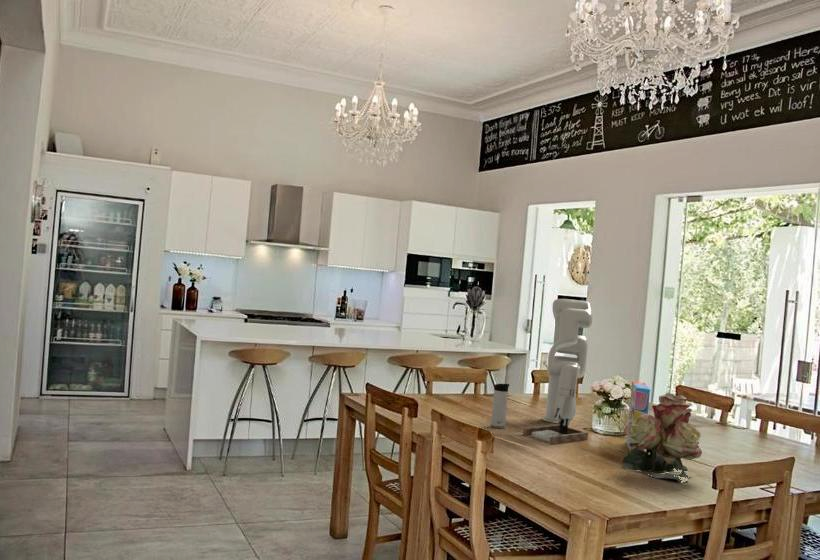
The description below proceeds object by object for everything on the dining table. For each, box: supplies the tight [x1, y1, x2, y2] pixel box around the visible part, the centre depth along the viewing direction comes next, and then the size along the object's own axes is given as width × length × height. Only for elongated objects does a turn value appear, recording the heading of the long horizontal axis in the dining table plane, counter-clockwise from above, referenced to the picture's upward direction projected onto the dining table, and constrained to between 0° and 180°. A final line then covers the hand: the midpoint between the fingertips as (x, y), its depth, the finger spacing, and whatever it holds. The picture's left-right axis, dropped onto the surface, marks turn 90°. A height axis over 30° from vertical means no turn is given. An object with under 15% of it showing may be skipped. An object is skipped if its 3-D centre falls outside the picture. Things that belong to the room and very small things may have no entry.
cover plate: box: [531, 430, 565, 442], centre depth 318 cm, size 12×10×2 cm
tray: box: [522, 424, 589, 445], centre depth 321 cm, size 24×16×4 cm, turn 131°
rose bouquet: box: [621, 392, 703, 483], centre depth 279 cm, size 26×29×30 cm
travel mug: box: [490, 383, 510, 429], centre depth 333 cm, size 6×7×20 cm
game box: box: [625, 381, 651, 453], centre depth 316 cm, size 21×6×27 cm, turn 168°
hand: (562, 434), depth 324 cm, fingers closed
